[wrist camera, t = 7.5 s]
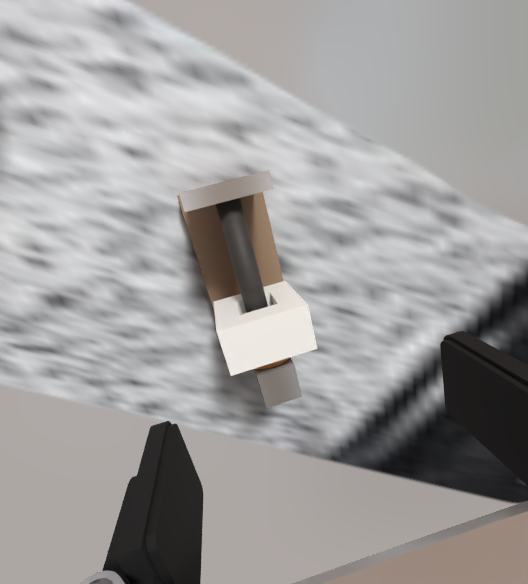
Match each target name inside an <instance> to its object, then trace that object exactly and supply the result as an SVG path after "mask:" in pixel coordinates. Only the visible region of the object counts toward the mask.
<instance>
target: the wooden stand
mask: <svg viewBox="0 0 528 584" xmlns="http://www.w3.org/2000/svg"><path fill="white" fill-rule="evenodd" d="M271 189H273V186H272V181H271V177H270V172H269V170H268V171H264V172H260V173H256V174H253V175H249V176H245V177H241V178H237V179H233V180H229V181H225V182H221V183H217V184H214V185H210V186H206V187H202V188H198V189H194V190H190V191H186V192H182V193H179V195H178V196H177V197H178V200H179V203H180V207H181V210H182V213H183V216H184V219H185V222H186V225H187V228H188V232H189V235H190V238H191V241H192V244H193V247H194V250H195V253H196V257H197V260H198V263H199V266H200V269H201V272H202V275H203V278H204V282H205V285H206V288H207V291H208V294H209V297H210V300H211V303H212V307H213V310H214V301H218V300H221V299H225V298H228V297H231V296H235V295H238V294H241V296H242V299H243V303H244V306H245V310H246V313H248V312H251V311H255V310H258V309H261V308H265V307H268V304H267V300H266V296H265V292H264V288H263V287H265V286H269V285H272V284H276V283H279V282H283V277H282V273H281V269H280V264H279V260H278V256H277V252H276V247H275V243H274V239H273V235H272V230H271V226H270V222H269V217H268V213H267V209H266V205H265V200H264V196H263V192H264V191H268V190H271ZM214 313H215V312H214ZM255 371H256V375H257V378H258V382H259V385H260V388H261V392H262V395H263V398H264V401H265V405H266V408H269V407H272V406H275V405H278V404H281V403H284V402H287V401H290V400H293V399H296V398H299V397H302V394H301V390H300V386H299V382H298V378H297V374H296V370H295V366H294V364H293V362H292V360H291V358H290V357H289V358H286V359H283V360H280V361H277V362H274V363H270V364H267V365H264V366H261V367H258V368H255Z"/></svg>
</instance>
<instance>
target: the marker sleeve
mask: <svg viewBox="0 0 528 584" xmlns="http://www.w3.org/2000/svg"><path fill="white" fill-rule="evenodd" d="M263 288H264V292H265V296H266V300H267V304H268V307H265V308H261V309H258V310H255V311H251V312H248V313H246V310H245V306H244V303H243V299H242V296H241V294H238V295H235V296H231V297H228V298H225V299H221V300H218V301H214V312H215V321H216V331H217V335H218V338H219V341H220V344H221V347H222V350H223V353H224V356H225V359H226V362H227V366H228V369H229V372H230V375H231V376H233V375H236V374H239V373H242V372H245V371H248V370H252V369H255V368H258V367H261V366H264V365H267V364H270V363H274V362H277V361H280V360H283V359H286V358H289V357H292V356H296V355H299V354H302V353H305V352H308V351H311V350H315V349H317V345H316V340H315V336H314V331H313V326H312V322H311V317H310V312H309V308H308V304H307V303H306V302H305V301H304V300H303V299H302V298H301V297H300V296H299V295H298V294H297V293H296V292H295V291H294V290H293V288H292V287H291V286H290V285H289V284H288V283H287V282H286V281H283V282H279V283H276V284H272V285H269V286H265V287H263Z"/></svg>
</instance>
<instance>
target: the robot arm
mask: <svg viewBox="0 0 528 584" xmlns="http://www.w3.org/2000/svg"><path fill="white" fill-rule="evenodd" d="M441 358H442V371H443V383H444V395H445V405H446V408H447V410H448V412H449V414H450V415H451V416H452V417H453V418H454V419H455V420H457V421H458V422H459V423H460V424H461V425H462V426H463V427H464V428H465V429H466V430H467V431H469V432H470V433H471V434H472V435H473V436H474V437H475V438H476V439H477V440H478V441H479V442H480V443H482V444H483V445H484V446H485V447H486V448H487V449H488V450H489V451H490V452H491V453H492V454H494V455H495V456H496V457H497V458H498V459H499V460H500V461H501V462H502V463H503V464H504V465H506V466H507V467H508V468H509V469H510V470H511V471H512V472H513V473H514V474H515V475H516V476H517V477H519V478H520V479H521V480H522V481H523V482H524V483H525V484H526V485H527V486H528V365H526V364H524V363H522V362H520V361H518V360H516V359H515V358H513V357H511V356H509V355H507V354H505V353H503V352H502V351H500V350H498V349H496V348H494V347H492V346H490V345H488V344H487V343H485V342H483V341H481V340H479V339H477V338H475V337H474V336H472V335H470V334H468V333H466V332H464V331H460V332H456V333H453V334H450V335H447V336H445V337H444V341H442V342H441ZM202 517H203V489H202V485H201V482H200V480H199V477H198V475H197V473H196V470H195V467H194V465H193V463H192V460H191V457H190V455H189V453H188V450H187V448H186V445H185V443H184V440H183V438H182V435H181V433H180V430H179V428H178V426H177V424H171V423H170V422H169V421H166V422H163V423H160V424H157V425H153V426H151V428H150V431H149V434H148V438H147V441H146V445H145V449H144V452H143V456H142V459H141V463H140V467H139V471H138V474H137V476H135V477H132V478H131V479H130V481H129V484H128V487H127V490H126V493H125V497H124V500H123V504H122V507H121V510H120V514H119V517H118V520H117V524H116V527H115V530H114V534H113V537H112V541H111V544H110V547H109V551H108V554H107V557H106V561H105V564H104V568H103V571H102V572H98V573H96V574H94V575H92V576H90V577H88V578H87V579H86V580H84V581H83V582H82V583H81V584H200V575H201V545H202ZM293 584H528V501H526V502H523V503H520V504H517V505H514V506H511V507H508V508H506V509H503V510H500V511H497V512H494V513H491V514H488V515H485V516H482V517H479V518H476V519H474V520H471V521H468V522H465V523H462V524H460V525H456V526H454V527H451V528H448V529H446V530H443V531H439V532H437V533H434V534H431V535H428V536H425V537H422V538H420V539H417V540H414V541H411V542H408V543H405V544H403V545H400V546H397V547H394V548H392V549H389V550H386V551H383V552H380V553H377V554H374V555H372V556H369V557H366V558H363V559H360V560H357V561H355V562H352V563H349V564H346V565H343V566H341V567H338V568H335V569H333V570H330V571H327V572H324V573H321V574H319V575H316V576H313V577H310V578H307V579H305V580H302V581H299V582H296V583H293Z"/></svg>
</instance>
